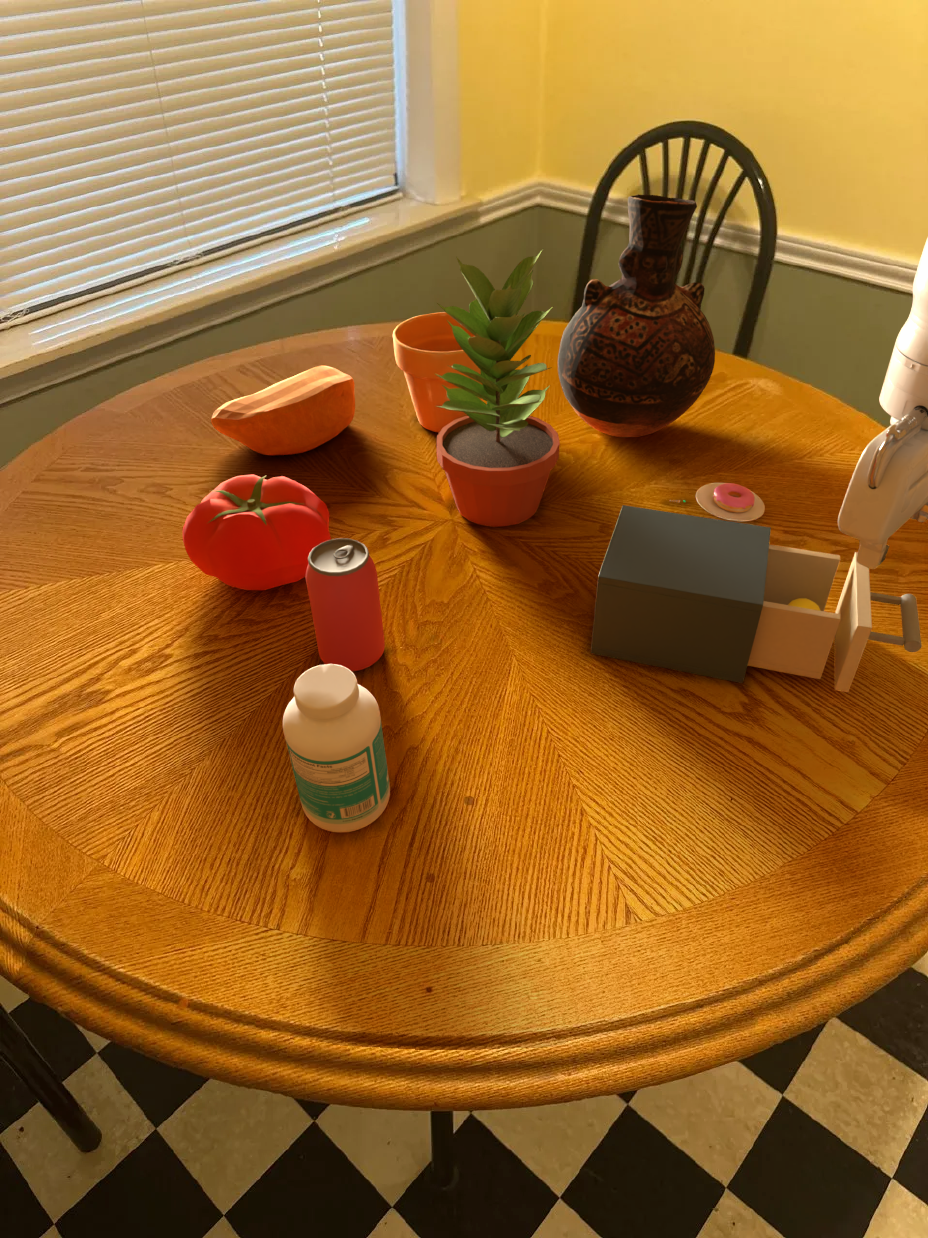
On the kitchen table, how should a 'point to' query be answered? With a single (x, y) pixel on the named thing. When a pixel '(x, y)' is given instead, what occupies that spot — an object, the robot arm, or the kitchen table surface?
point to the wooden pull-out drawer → (821, 617)
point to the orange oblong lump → (291, 413)
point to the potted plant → (496, 407)
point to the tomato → (256, 531)
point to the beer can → (345, 604)
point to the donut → (730, 502)
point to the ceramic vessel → (640, 331)
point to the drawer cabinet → (681, 592)
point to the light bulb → (804, 604)
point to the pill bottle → (336, 749)
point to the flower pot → (430, 365)
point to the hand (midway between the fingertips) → (894, 539)
